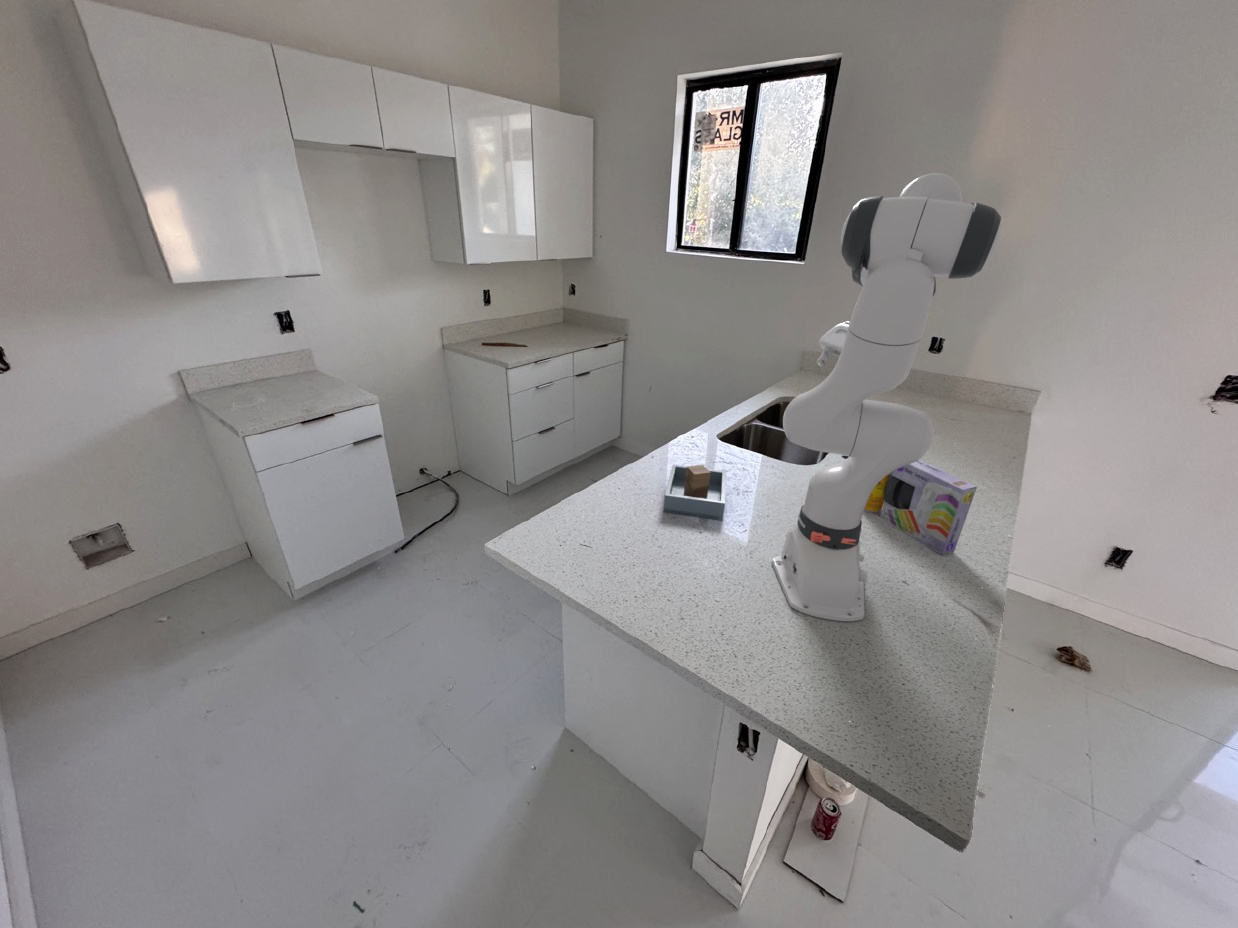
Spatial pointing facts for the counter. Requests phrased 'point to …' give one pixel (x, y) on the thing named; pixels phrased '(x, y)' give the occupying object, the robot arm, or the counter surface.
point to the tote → (692, 505)
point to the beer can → (877, 496)
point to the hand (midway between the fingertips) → (831, 369)
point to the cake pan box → (928, 504)
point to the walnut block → (697, 481)
